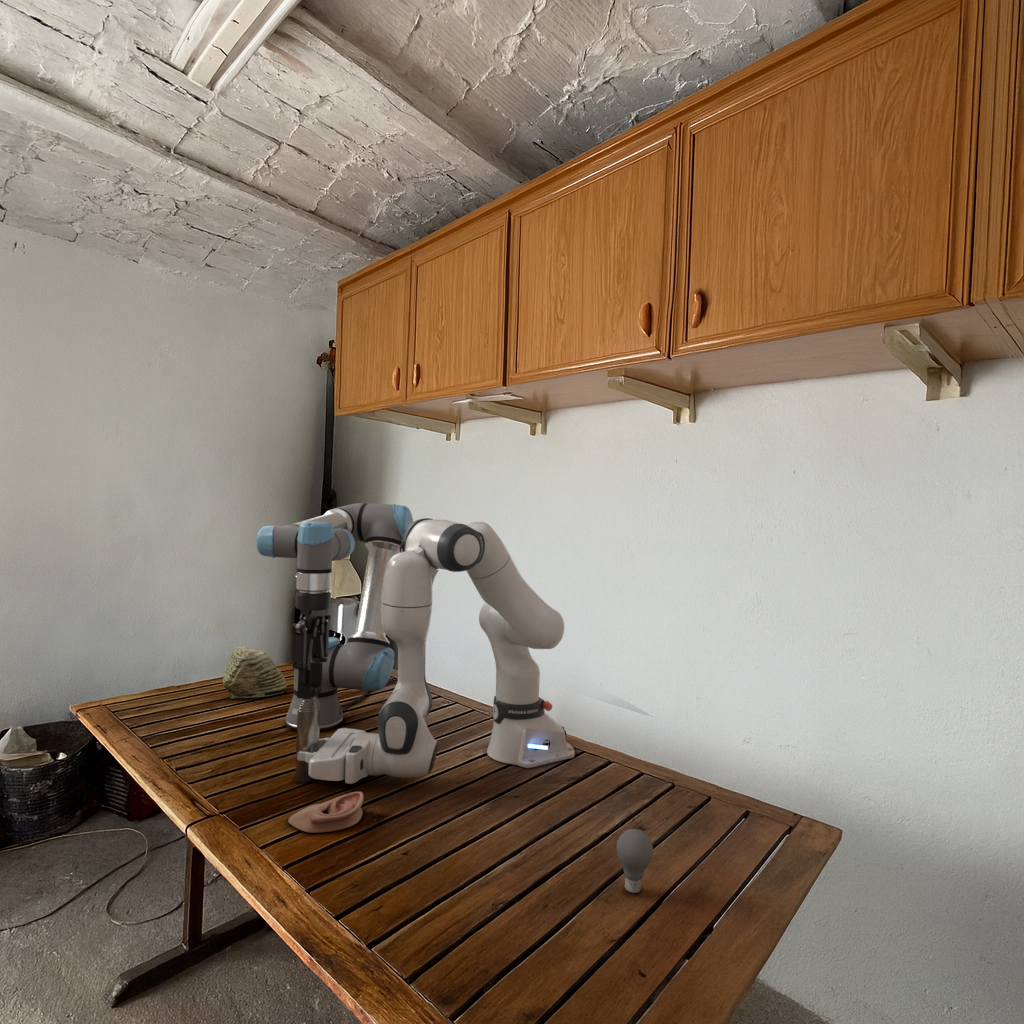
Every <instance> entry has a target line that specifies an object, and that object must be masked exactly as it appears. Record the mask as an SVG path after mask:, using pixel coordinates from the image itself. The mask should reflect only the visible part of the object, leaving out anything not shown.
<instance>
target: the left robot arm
mask: <svg viewBox="0 0 1024 1024" xmlns="http://www.w3.org/2000/svg"><path fill="white" fill-rule="evenodd" d="M412 522H414V519H413V514H412V512H411V509H410V508H409V507H408V506H406V505H400V504H396V503H393V504H388V503H387V504H386V503H365V502H359V503H358V502H357V503H351V504H347V505H343V506H338V507H335V508H331V509H329V510H327V511H326V512H325V513H324V514H323V515H319V516H315V517H312V518H309V519H305V520H302V521H298V522H294V523H289V524H286V525H274V524H273V525H264V526H262V527H261V528H260V529H259V530H258V532H257V535H256V541H255V542H256V545H255V546H256V549H257V552H258V553H259V554H260V556H263V557H269V558H273V559H274V558H284V559H296V561H297V563H296V575H295V579H296V583H295V584H296V587H295V588H296V590H297V592H296V593H295V608H296V609H297V610H299V611H300V615H299V621H298V623H292V628H291V629H292V634H293V637H292V642H293V643H292V669H294V672H293V695H292V696H293V697H292V699H291V702H290V704H289V708H288V711H287V713H286V715H285V726H286V728H287V729H289V730H291V731H294V732H295V731H296V732H297V715H298V706H299V703H300V701H301V699H310V697H311V684H319V685H320V686H321V687H320V688H321V693H320V695H319V696H317V698H318V700H319V703H320V732H325V731H329V730H332V729H335V728H337V727H339V726H340V725H342V723H343V722H344V714H343V709H344V708H346V707H349V706H351V705H354V704H356V703H358V702H359V701H362V700H363V699H365V698H366V696H367V694H368V693H369V692H371V691H373V692H374V691H375V692H377V691H381V690H382V689H384V687H385V686H386V685H388V684H392V683H397V681H398V678H395V679H390V678H391V675H392V673H393V670H394V666H395V665H394V664H395V652H394V650H393V649H392V648H391V647H390V645H391V644H390V641H389V639H388V638H387V637H386V636H387V635H386V634H385V632H384V631H383V626H382V619H381V599H382V588H383V581H384V576H385V571H386V567H387V563H388V561H389V559H390V558H391V557H392V556H394V555H395V554H397V553H400V549H399V548H400V545H401V543H402V539H403V535H404V533H405V531H406V529H407V527H408V526H409V525H410V524H411V523H412ZM356 542H360V543H361V542H362V543H364V546H365V549H367V550H368V555H367V561H366V567H365V572H364V577H363V583H362V589H361V595H360V600H359V606H358V610H357V617H356V621H355V622H356V623H355V628H354V632H353V633H352V634H350V635H349V636H348V637H347V641H346V644H341V641H340V639H339V638H338V637H334V636H330V624H331V619H332V618H331V617H332V615H331V614H328V613H327V614H326V610H329V609H330V608H331V606H332V605H331V602H332V593H331V591H330V590H331V589H332V585H333V584H332V582H333V581H332V580H333V579H332V578H333V562H334V561H342V560H343V559H346V558H348V557H350V556H351V555H352V553H353V552H354V550H355V547H356ZM401 551H402V549H401ZM338 689H346V690H357V691H364V692H363V694H362V695H361V696H359V697H357V698H356V699H353V700H351V701H349V702H346V703H342V704H341V702H340V699H339V695H338ZM342 708H343V709H342Z"/></svg>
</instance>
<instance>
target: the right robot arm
mask: <svg viewBox="0 0 1024 1024" xmlns="http://www.w3.org/2000/svg"><path fill="white" fill-rule="evenodd" d="M399 549H400V553H397V554H395V555H394V556H392V557H391V558H390V559H389V561H388V563H387V567H386V571H385V576H384V581H383V588H382V599H381V619H382V626H383V631H384V632H385V634H386V635H385V636H387V637H388V638H389V639H390V640H391V641H394V642H395V643H396V646H397V679H398V681H397V682H396V684H395V686H394V687H393V689H392V691H391V694H390V695H389V697H388V698H387V700H386V701H385V703H384V704H383V705H382V707H381V708H380V710H379V713H378V716H377V723H376V724H377V731H378V733H377V732H366V731H365V730H362V729H357V728H348V727H341V728H337V730H335V732H334V733H333V734H332V735H331V736H330V737H323V738H319V751H318V752H313V753H310V752H308V750H300V751H299V752H298V753H297V760H299V761H306V762H307V763H309V770H308V774H309V776H310V777H312V778H314V779H316V780H321V781H330V782H340V781H341V782H342V781H343V780H344V783H345V784H349V785H352V784H355V783H357V782H358V781H361V780H362V779H363V778H367V777H368V776H372V777H373V776H374V777H376V776H381V775H383V776H384V775H385V776H390V777H392V778H404V779H405V778H407V779H408V778H409V779H410V778H423V777H426V776H428V775H429V774H430V773H431V771H432V770H433V768H434V765H435V761H436V758H437V754H438V749H439V748H438V747H439V744H438V741H437V740H436V739H435V737H434V736H433V735H432V733H431V731H430V730H429V728H428V725H427V723H426V718H427V717H428V715H429V714H430V712H431V710H432V708H433V698H432V693H431V690H430V688H429V685H428V683H427V682H428V681H427V677H426V645H427V638H428V634H429V630H430V625H431V619H432V612H433V584H434V581H435V578H436V576H437V574H438V572H439V570H445V571H449V572H451V573H452V572H453V573H461V572H466V573H467V575H468V576H469V578H470V580H471V582H472V584H473V585H474V587H475V589H476V591H477V592H478V594H479V596H480V598H481V599H482V601H484V603H483V604H482V605H481V608H480V610H479V614H478V623H479V626H480V628H481V629H482V631H483V632H484V634H485V635H486V637H487V639H488V641H489V643H490V648H491V651H492V653H493V659H494V663H495V695H494V697H493V703H492V704H493V705H492V720H493V722H492V730H491V734H490V738H489V741H488V742H489V743H488V746H487V749H486V754H487V756H489V758H491V759H492V760H494V761H497V762H499V763H504V764H507V765H514V766H519V767H521V768H526V769H532V768H536V767H540V766H543V765H548V764H552V763H556V762H560V761H565V760H568V759H574V758H575V756H576V753H575V752H576V751H575V748H574V747H573V746H572V745H571V744H570V743H569V742H568V741H567V738H568V736H567V731H566V730H565V727H564V726H562V725H561V724H560V723H558V721H556V720H555V719H554V718H553V717H552V716H550V715H549V714H548V713H547V712H550V711H552V709H553V703H551V702H549V701H548V700H545V699H543V698H541V696H540V683H541V682H540V681H541V670H540V666H539V665H538V663H537V662H536V660H535V659H534V658H533V656H532V654H531V652H530V649H534V650H552V649H554V648H556V647H557V646H558V645H559V644H560V643H561V641H562V640H563V637H564V634H565V629H566V627H565V620H564V618H563V616H562V614H561V613H560V612H559V611H558V610H556V609H554V608H553V607H552V606H550V605H549V604H548V603H546V601H544V599H542V598H541V596H539V594H538V593H537V592H536V591H535V590H534V589H533V588H532V587H531V586H530V585H529V583H528V582H527V581H526V580H525V579H524V577H523V576H522V574H521V573H520V571H519V569H518V567H517V566H516V564H515V562H514V560H513V557H512V556H511V554H510V552H509V551H508V548H507V547H506V546H505V543H504V542H503V541H502V539H501V538H500V536H499V534H498V533H497V532H496V531H495V529H494V528H493V527H492V525H490V524H488V523H487V522H484V521H472V522H470V523H468V524H465V523H458V522H455V521H452V520H448V519H438V518H437V519H433V518H427V517H425V518H420V519H416V520H413V522H412V523H411V524H410V525H409V526H408V527H407V529H406V531H405V533H404V535H403V539H402V543H401V545H400V548H399ZM401 549H402V551H401ZM545 711H547V712H545Z"/></svg>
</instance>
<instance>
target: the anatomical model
mask: <svg viewBox="0 0 1024 1024" xmlns="http://www.w3.org/2000/svg"><path fill="white" fill-rule="evenodd" d="M363 793H364V792H362V791H353V792H349V793H346V794H343V795H340V796H336V797H334V798H332V799H330V800H327V801H324V802H322V803H317V804H312V805H310V806H306V807H304V808H302V809H300V810H299V811H297V812H296V813H294V814H292V815H291V816H290V817H289V818H288V820H287V822H288V824H289V825H291V826H292V827H294V828H295V829H297V830H299V831H301V832H305V833H308V834H309V833H310V834H311V833H326V832H327V833H328V832H334V831H339V830H344V829H347V828H350V827H352V826H354V825H356V824H358V823H359V822H360V820H361V819H362V817H363V809H362V805H363V803H364V794H363Z"/></svg>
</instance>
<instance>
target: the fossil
mask: <svg viewBox="0 0 1024 1024" xmlns="http://www.w3.org/2000/svg"><path fill="white" fill-rule="evenodd" d="M222 676H223V677H222V685H223V687H224V688H225V690H226V691H228V693H229V698H230V699H250V698H264V697H271V696H275V695H281V694H284V693H285V691H286V689H287V687H288V686H287V680H286V678H285V676H284V674H283V673H282V672H281V669H279V668H278V667H277V665H276V663H275V662H274V660H273V659H272V658H271V657H270V656H269V655H268V654H267V653H266V652H265V650H264V649H263V648H260V647H258V648H251V647H247V646H246V647H245V646H238V647H237V648H236V649H235V650H233V651H232V653H231V656H230V657H229V659H228V660H227V663H226V666H225V668H224V671H223V675H222Z"/></svg>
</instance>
